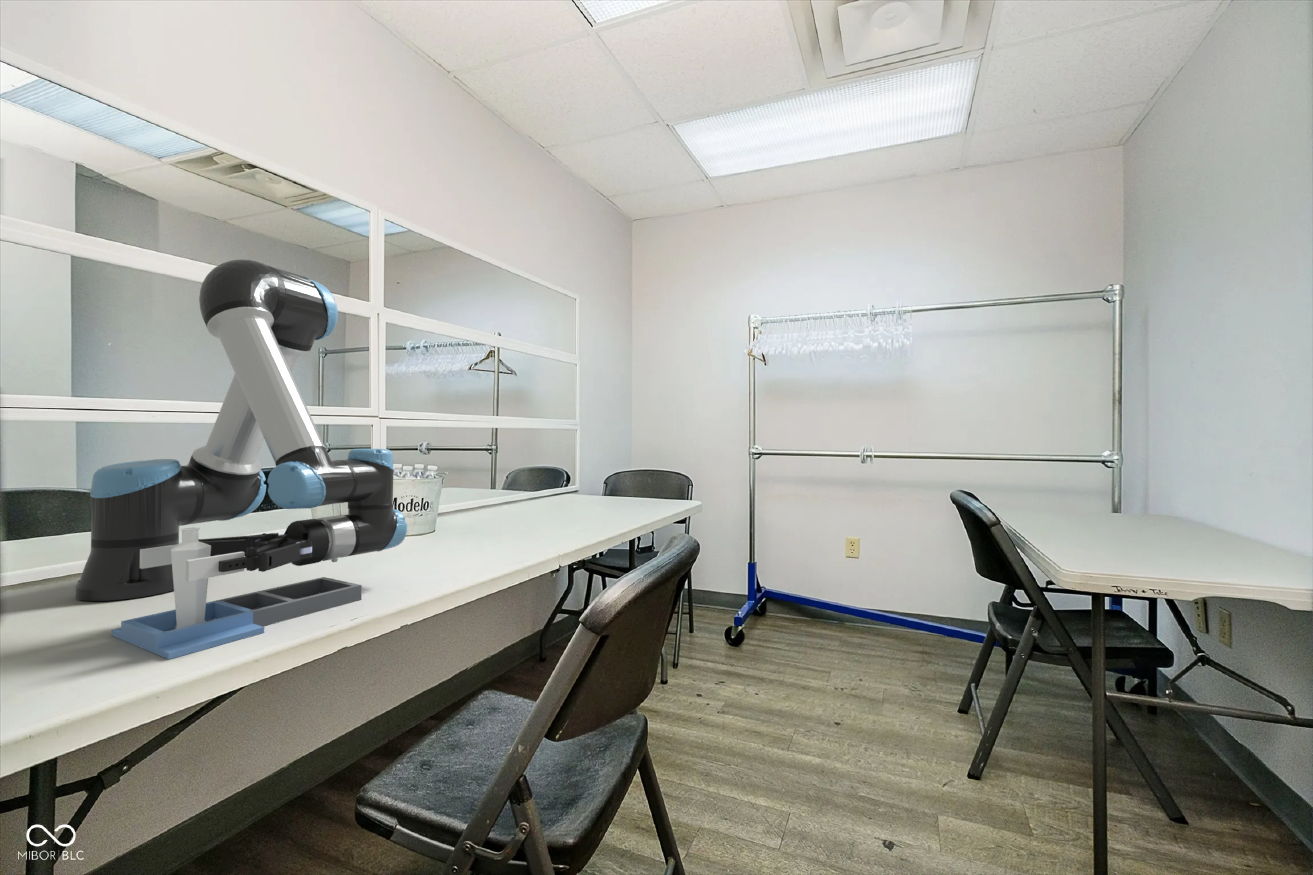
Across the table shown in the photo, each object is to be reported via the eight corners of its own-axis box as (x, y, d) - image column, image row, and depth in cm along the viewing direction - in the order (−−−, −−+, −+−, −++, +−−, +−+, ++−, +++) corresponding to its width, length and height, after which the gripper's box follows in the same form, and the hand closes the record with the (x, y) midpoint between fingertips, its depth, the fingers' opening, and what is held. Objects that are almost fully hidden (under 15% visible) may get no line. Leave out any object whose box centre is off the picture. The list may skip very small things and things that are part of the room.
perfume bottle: (176, 641, 75) (176, 532, 75) (163, 635, 77) (163, 529, 78) (216, 631, 79) (216, 527, 79) (203, 626, 81) (203, 525, 81)
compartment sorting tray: (313, 588, 102) (313, 574, 102) (372, 601, 94) (372, 587, 94) (111, 635, 77) (111, 617, 77) (168, 659, 69) (169, 639, 69)
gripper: (364, 570, 89) (208, 605, 70) (277, 553, 100) (123, 579, 81) (365, 524, 89) (209, 546, 70) (277, 512, 100) (124, 529, 81)
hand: (162, 564), depth 75 cm, fingers open, 13 cm apart
